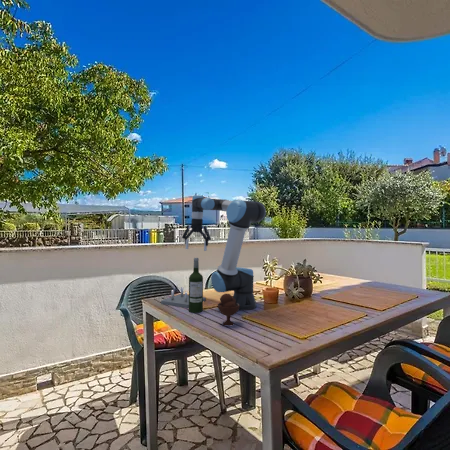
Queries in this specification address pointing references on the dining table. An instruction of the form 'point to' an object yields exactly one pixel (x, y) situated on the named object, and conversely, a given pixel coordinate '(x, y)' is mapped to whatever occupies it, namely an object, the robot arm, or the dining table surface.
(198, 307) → the wine bottle
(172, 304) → the peg stand
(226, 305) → the ice cream bowl
